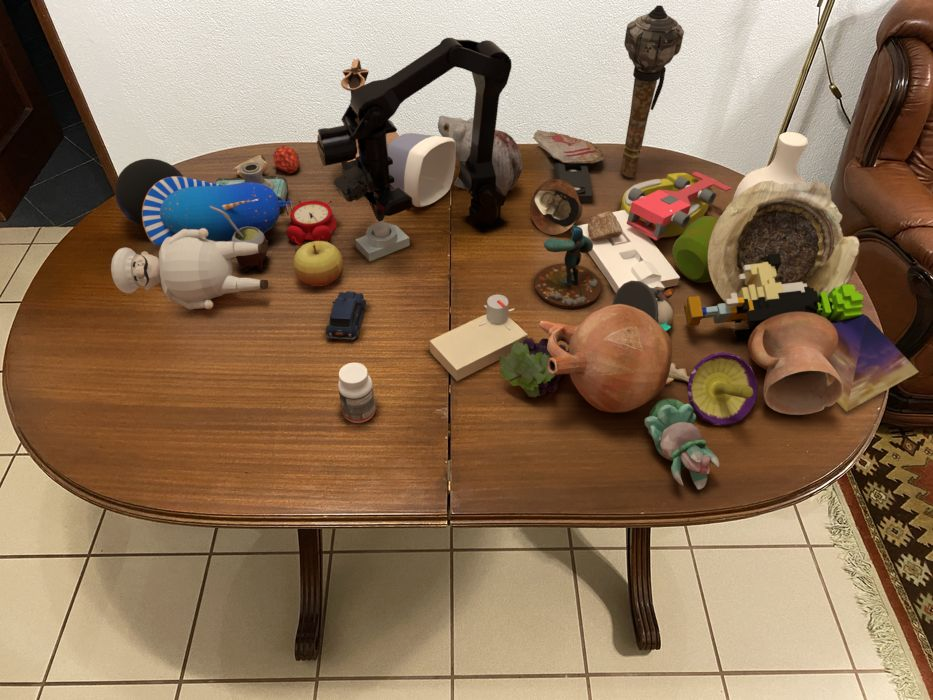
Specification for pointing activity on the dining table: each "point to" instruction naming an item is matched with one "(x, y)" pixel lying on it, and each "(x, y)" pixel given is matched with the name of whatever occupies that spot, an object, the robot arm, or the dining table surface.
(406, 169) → the bowl
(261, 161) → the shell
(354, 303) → the toy car
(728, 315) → the toy
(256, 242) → the mate gourd
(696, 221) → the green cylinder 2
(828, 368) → the ceramic jug
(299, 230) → the alarm clock
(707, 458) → the toy
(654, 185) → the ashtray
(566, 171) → the vhs tape
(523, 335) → the panel
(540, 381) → the fruit
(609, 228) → the stone
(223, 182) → the camera
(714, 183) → the race car
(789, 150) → the vase
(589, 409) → the dining table surface
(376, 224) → the flush button
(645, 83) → the mace
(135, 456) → the dining table surface
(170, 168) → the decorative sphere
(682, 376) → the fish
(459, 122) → the sculpture
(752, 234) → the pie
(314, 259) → the apple
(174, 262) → the figurine
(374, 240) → the control knob block
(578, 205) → the brown hollow round piece
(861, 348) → the decorative sculpture
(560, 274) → the figurine
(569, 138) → the stone artifact
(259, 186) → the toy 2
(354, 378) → the pill bottle
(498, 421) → the dining table surface
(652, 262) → the building model
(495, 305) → the knob
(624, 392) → the jug
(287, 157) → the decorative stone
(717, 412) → the decorative mushroom
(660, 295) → the figurine
